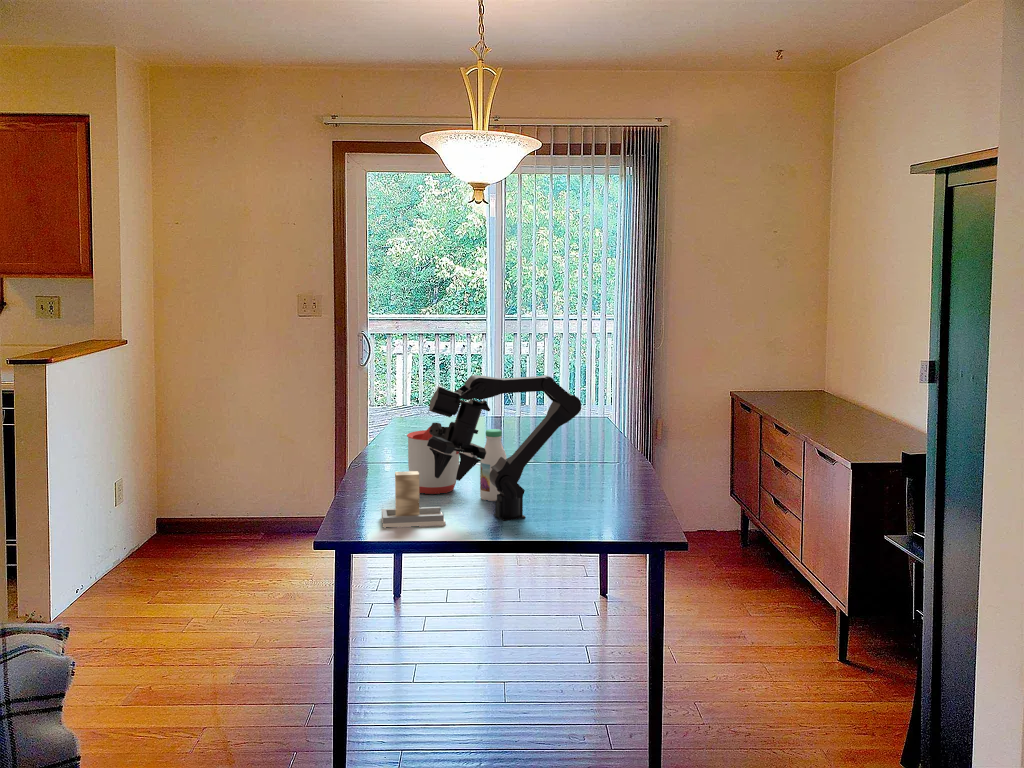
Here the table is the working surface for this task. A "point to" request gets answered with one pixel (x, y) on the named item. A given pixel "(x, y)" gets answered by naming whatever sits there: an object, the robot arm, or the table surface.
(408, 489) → the upright wooden block
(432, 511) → the track board
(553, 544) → the table surface
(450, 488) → the citrus juicer
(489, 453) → the milk bottle
